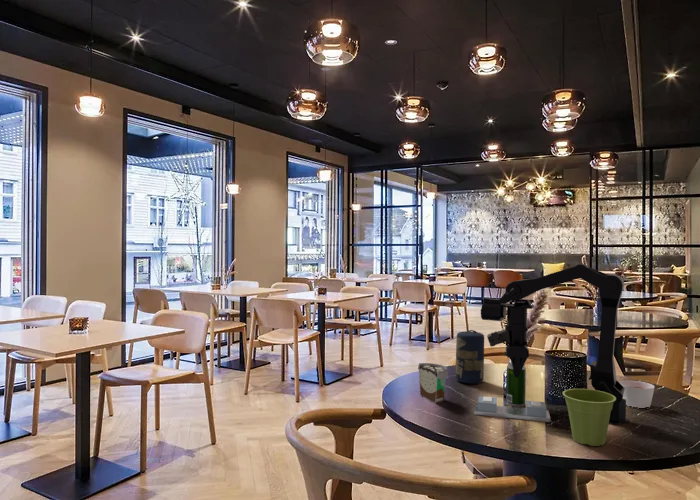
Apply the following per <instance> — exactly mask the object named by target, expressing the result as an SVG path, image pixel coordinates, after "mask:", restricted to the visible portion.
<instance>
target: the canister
mask: <svg viewBox="0 0 700 500" xmlns="http://www.w3.org/2000/svg"><path fill="white" fill-rule="evenodd" d="M455 343H456V345H455V348H456V349H455V351H456V352H455V357H456V358H455V379H456V380H457V381H458V382H461V383H465V384H480V383H482V382H483V381H484V375H485V373H484V372H485V370H484V369H485V358H484V357H485V335H484V334H483V333H482V332H479V331H476V330H473V329H470V330H467V331H466V330H465V331H459V332H458V333H456V341H455Z"/></svg>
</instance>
